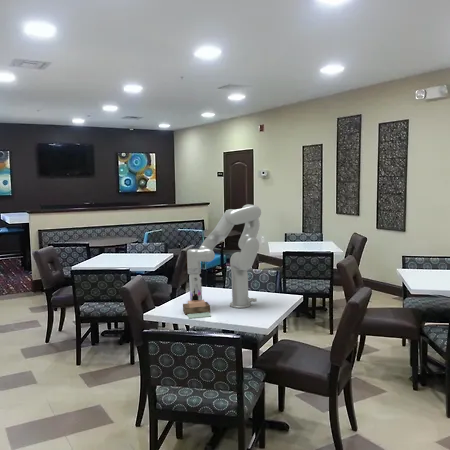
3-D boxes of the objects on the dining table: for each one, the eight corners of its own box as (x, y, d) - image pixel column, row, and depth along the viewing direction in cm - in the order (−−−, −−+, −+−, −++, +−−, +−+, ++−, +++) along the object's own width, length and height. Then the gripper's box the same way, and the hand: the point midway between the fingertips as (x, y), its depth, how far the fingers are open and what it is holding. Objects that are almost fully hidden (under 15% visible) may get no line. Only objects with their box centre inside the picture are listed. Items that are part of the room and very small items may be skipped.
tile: (203, 303, 267) (203, 299, 267) (205, 306, 262) (205, 302, 261) (188, 305, 266) (187, 300, 265) (189, 307, 260) (189, 303, 260)
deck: (207, 308, 272) (206, 301, 272) (210, 312, 263) (209, 305, 263) (183, 310, 269) (182, 303, 269) (185, 314, 260) (185, 307, 260)
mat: (208, 313, 263) (208, 312, 263) (211, 316, 255) (211, 315, 255) (187, 315, 260) (187, 314, 260) (189, 318, 253) (189, 317, 253)
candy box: (202, 305, 280) (201, 278, 278) (192, 306, 278) (191, 278, 277) (199, 299, 293) (198, 273, 292) (189, 300, 292) (188, 274, 290)
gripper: (202, 272, 260) (204, 305, 262) (198, 268, 275) (199, 298, 276) (189, 273, 258) (190, 306, 260) (185, 268, 273) (187, 299, 275)
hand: (195, 302), depth 268 cm, fingers closed
